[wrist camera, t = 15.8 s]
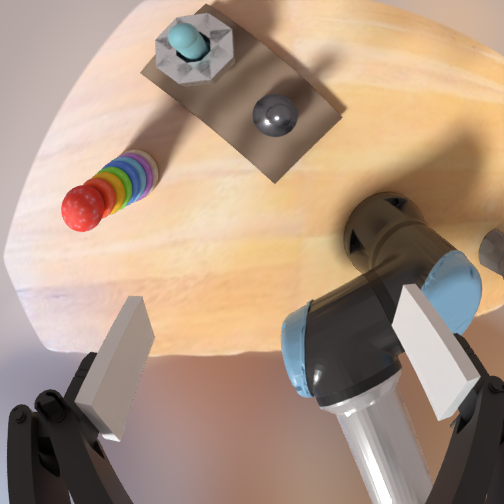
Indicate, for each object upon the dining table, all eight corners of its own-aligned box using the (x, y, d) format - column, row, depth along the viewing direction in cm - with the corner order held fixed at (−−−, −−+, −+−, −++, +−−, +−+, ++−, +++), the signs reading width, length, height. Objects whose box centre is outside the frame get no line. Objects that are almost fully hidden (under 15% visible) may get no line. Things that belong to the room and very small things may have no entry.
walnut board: (338, 117, 38) (342, 117, 36) (273, 181, 42) (274, 184, 40) (207, 8, 30) (206, 3, 28) (144, 74, 34) (140, 73, 33)
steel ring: (236, 82, 31) (234, 78, 28) (166, 89, 32) (156, 87, 28) (233, 20, 27) (231, 10, 24) (164, 29, 27) (155, 21, 24)
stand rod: (301, 115, 36) (319, 115, 26) (273, 143, 38) (282, 152, 28) (271, 88, 34) (279, 77, 24) (243, 116, 36) (241, 116, 26)
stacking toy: (116, 146, 39) (43, 172, 23) (162, 151, 40) (106, 178, 23) (113, 193, 43) (48, 241, 26) (157, 200, 43) (106, 254, 27)
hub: (238, 54, 32) (232, 26, 20) (204, 90, 34) (181, 78, 22) (201, 27, 30) (179, -8, 18) (167, 63, 32) (131, 42, 20)
